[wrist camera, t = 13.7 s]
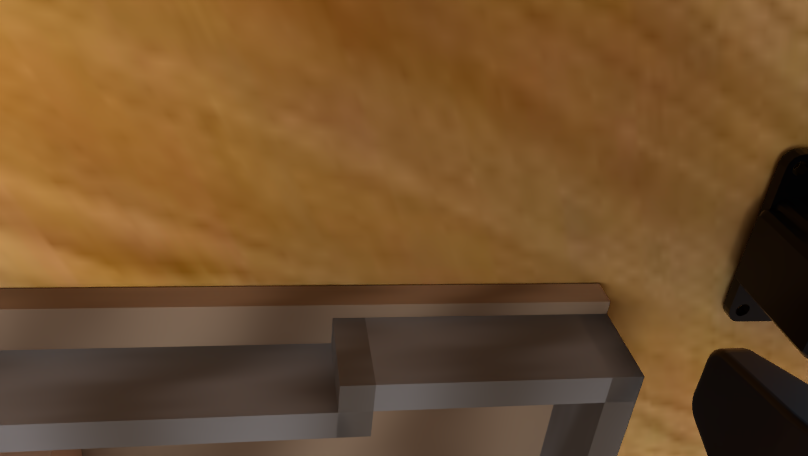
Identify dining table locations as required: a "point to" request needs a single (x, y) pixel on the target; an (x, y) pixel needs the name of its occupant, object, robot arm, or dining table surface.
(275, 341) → the keyhole board
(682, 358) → the dining table surface
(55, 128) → the dining table surface
